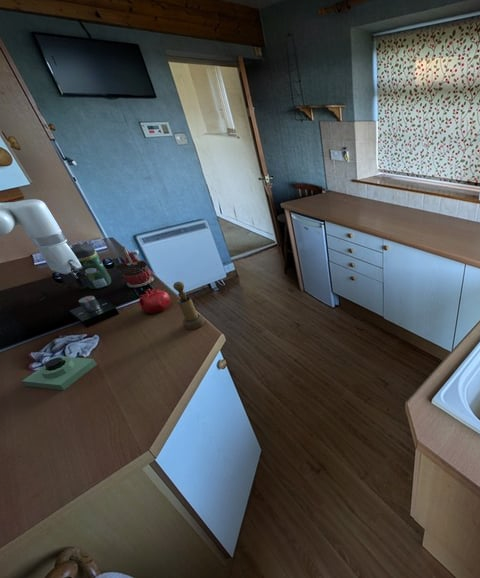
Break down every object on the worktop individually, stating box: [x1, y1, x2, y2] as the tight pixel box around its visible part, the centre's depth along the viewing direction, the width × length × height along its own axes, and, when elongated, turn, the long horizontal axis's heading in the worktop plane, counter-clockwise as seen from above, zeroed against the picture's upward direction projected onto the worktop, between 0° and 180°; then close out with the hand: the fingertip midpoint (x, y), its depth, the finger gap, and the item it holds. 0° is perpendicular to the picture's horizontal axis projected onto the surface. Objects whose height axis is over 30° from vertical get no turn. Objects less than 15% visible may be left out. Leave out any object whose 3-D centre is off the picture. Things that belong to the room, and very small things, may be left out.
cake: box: [115, 246, 155, 289], centre depth 128 cm, size 11×9×18 cm
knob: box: [78, 295, 100, 312], centre depth 109 cm, size 4×4×5 cm
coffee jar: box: [70, 242, 112, 290], centre depth 126 cm, size 10×8×19 cm
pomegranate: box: [138, 288, 171, 314], centre depth 114 cm, size 10×10×9 cm
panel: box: [69, 298, 120, 329], centre depth 111 cm, size 12×10×3 cm
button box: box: [21, 355, 98, 391], centre depth 86 cm, size 12×10×4 cm
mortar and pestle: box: [173, 281, 205, 331], centre depth 103 cm, size 7×6×18 cm
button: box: [43, 357, 65, 371], centre depth 85 cm, size 4×4×2 cm
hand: (78, 284), depth 104 cm, fingers open, 9 cm apart
